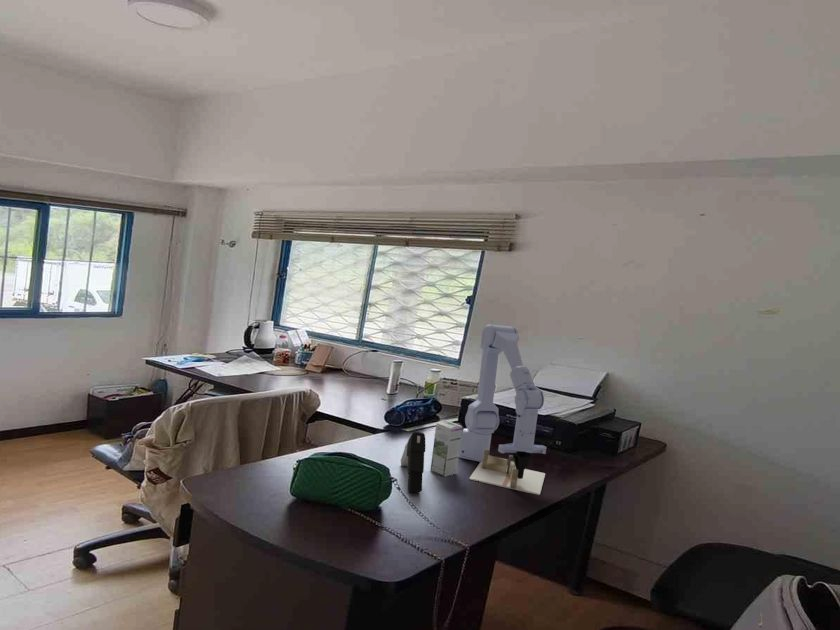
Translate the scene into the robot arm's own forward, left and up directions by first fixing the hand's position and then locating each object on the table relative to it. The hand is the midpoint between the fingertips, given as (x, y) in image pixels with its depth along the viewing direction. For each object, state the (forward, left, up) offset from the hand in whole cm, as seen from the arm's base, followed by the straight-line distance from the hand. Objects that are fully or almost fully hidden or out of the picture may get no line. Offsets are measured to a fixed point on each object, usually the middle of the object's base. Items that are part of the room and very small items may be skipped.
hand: (518, 477), depth 164 cm
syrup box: (-21, -3, -3) cm, 22 cm away
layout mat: (-3, +6, -3) cm, 8 cm away
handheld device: (-28, -14, -3) cm, 31 cm away
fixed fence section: (-7, +8, -2) cm, 11 cm away
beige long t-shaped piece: (-2, +1, -2) cm, 3 cm away
